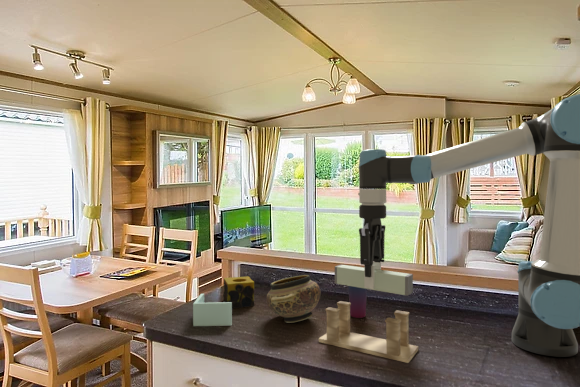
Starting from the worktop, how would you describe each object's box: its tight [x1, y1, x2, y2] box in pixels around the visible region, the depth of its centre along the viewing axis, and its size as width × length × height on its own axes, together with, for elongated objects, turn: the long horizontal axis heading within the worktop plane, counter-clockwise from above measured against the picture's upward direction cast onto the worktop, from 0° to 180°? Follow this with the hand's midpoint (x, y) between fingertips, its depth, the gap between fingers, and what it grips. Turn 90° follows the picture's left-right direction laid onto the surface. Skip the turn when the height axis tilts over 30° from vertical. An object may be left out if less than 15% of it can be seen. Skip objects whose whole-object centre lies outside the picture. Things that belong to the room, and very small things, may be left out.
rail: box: [334, 264, 414, 296], centre depth 109 cm, size 22×4×5 cm, turn 55°
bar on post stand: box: [318, 300, 419, 364], centre depth 104 cm, size 25×9×10 cm, turn 56°
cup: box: [347, 286, 368, 319], centre depth 129 cm, size 7×7×15 cm
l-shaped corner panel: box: [192, 293, 233, 327], centre depth 127 cm, size 12×12×8 cm
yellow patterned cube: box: [222, 275, 255, 309], centre depth 142 cm, size 10×10×10 cm
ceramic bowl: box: [265, 274, 322, 324], centre depth 125 cm, size 24×18×15 cm
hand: (372, 286), depth 109 cm, fingers closed on rail, 4 cm apart
